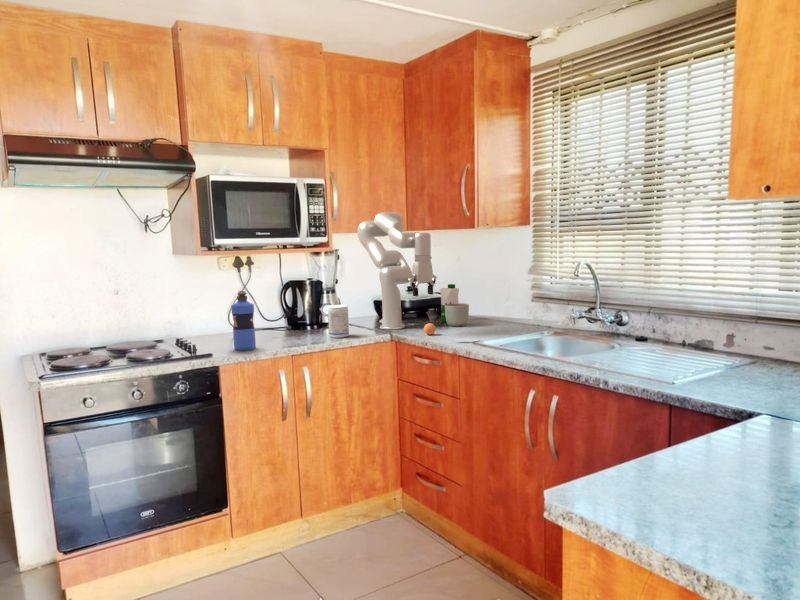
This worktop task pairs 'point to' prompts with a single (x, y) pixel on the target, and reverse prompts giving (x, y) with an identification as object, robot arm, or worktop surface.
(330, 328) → the supplement tub
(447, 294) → the milk carton
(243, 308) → the water bottle
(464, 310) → the planter
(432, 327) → the ball
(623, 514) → the worktop surface
